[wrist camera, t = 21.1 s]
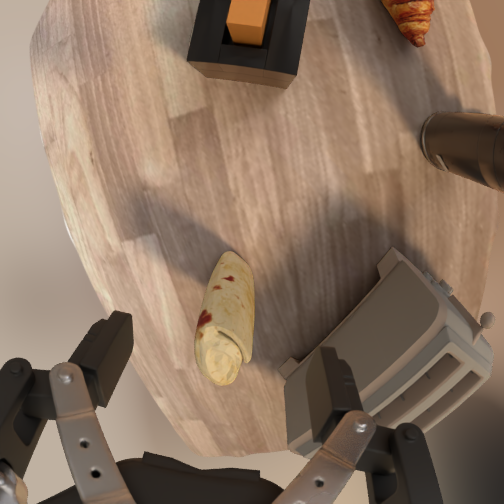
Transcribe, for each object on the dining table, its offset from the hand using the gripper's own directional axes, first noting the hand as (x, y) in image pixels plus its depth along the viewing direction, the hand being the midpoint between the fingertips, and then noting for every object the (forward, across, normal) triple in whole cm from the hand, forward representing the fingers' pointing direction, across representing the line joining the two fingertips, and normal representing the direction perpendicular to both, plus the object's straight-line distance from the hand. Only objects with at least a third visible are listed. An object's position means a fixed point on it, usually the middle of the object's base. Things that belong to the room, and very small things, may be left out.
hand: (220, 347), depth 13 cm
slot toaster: (+33, +3, -23) cm, 40 cm away
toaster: (+33, -27, +21) cm, 48 cm away
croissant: (+33, -17, -37) cm, 52 cm away
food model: (+33, 0, +14) cm, 36 cm away
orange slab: (+26, +3, -23) cm, 35 cm away
